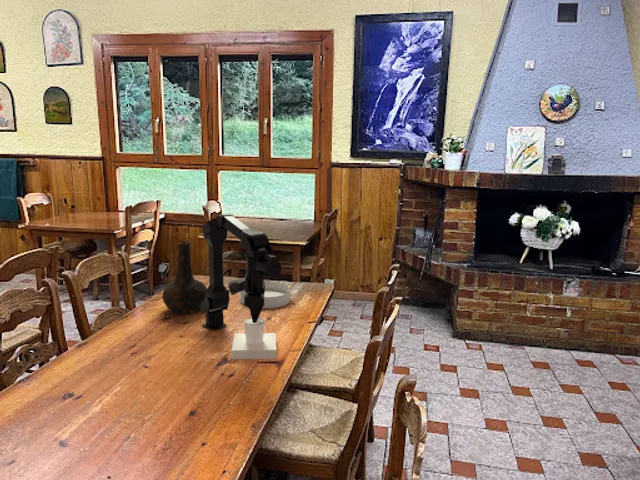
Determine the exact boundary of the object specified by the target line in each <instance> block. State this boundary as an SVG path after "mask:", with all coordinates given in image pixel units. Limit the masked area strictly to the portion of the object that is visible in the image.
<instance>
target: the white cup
mask: <svg viewBox="0 0 640 480" xmlns="http://www.w3.org/2000/svg"><path fill="white" fill-rule="evenodd" d="M243 324H244V325H243V326H244V333H245V337H246V342H247V343H248V344H252V345H256V344H261V343H262V342H263V336H264V333H265V325H266V321H265V319H263V318H260V317H258V320H257V322H256V323H253V321H252V317H250V318H246V319H245V320H244V322H243Z"/></svg>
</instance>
